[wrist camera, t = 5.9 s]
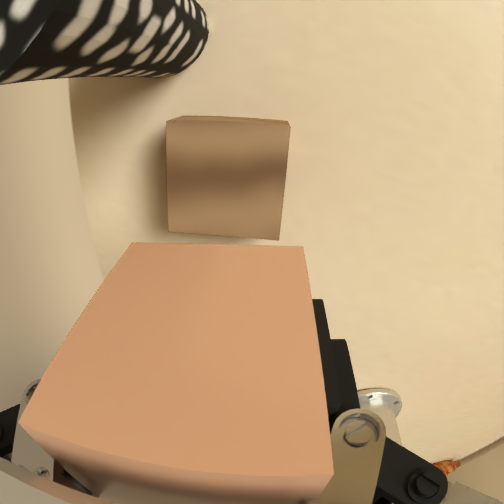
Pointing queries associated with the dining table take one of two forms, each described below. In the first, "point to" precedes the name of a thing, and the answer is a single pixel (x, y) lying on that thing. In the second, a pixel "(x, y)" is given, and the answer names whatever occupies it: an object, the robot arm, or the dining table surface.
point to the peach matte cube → (191, 381)
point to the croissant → (447, 466)
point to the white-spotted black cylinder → (98, 38)
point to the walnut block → (226, 175)
